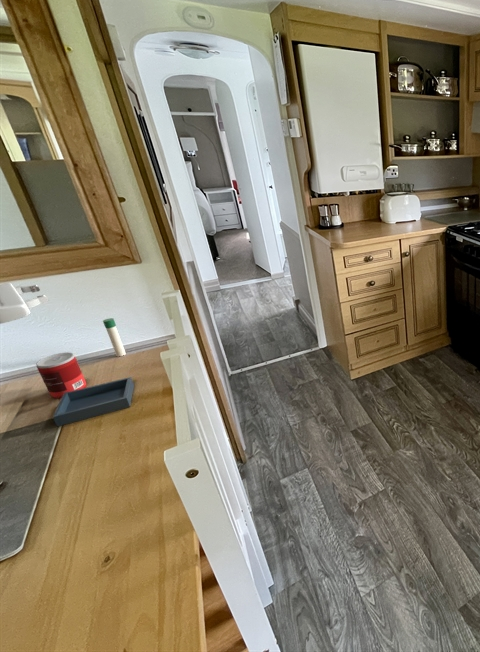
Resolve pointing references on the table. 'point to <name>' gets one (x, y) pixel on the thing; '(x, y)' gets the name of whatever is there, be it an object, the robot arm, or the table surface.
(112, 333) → the marker
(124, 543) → the table surface
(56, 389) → the canned food
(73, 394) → the tray
